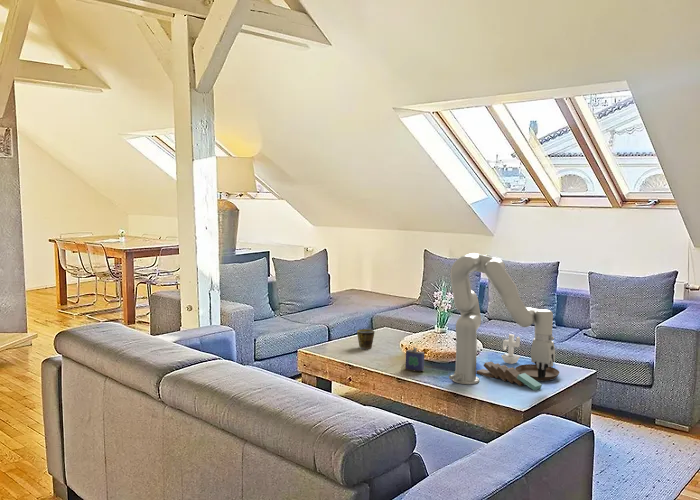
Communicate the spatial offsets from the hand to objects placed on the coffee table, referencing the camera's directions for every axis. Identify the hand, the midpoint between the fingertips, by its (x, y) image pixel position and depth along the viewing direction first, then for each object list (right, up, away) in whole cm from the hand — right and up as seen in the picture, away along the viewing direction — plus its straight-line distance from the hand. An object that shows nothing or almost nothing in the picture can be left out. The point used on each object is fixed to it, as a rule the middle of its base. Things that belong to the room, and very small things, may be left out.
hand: (541, 377), depth 285 cm
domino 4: (-9, -4, +11) cm, 15 cm away
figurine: (-2, -2, +47) cm, 47 cm away
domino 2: (-14, -3, +18) cm, 23 cm away
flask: (-54, -3, +31) cm, 62 cm away
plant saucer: (+5, -5, +23) cm, 24 cm away
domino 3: (-11, -4, +14) cm, 18 cm away
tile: (-1, -5, +2) cm, 5 cm away
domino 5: (-6, -5, +7) cm, 10 cm away
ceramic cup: (-78, +1, +73) cm, 107 cm away
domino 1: (-16, -4, +20) cm, 26 cm away
